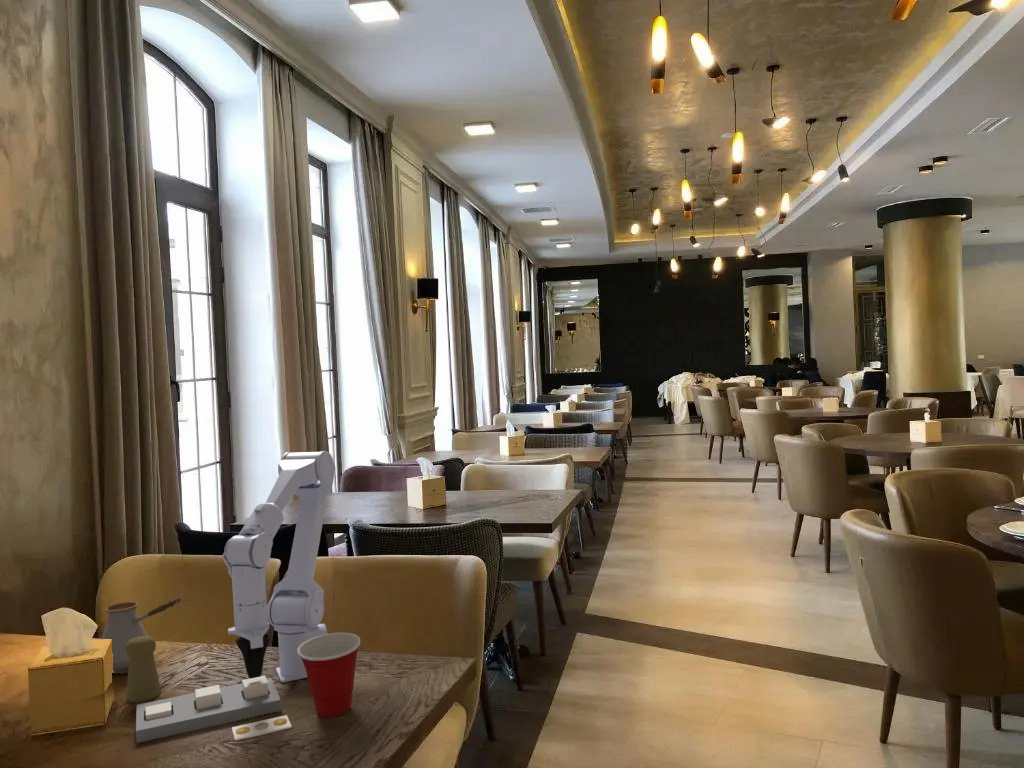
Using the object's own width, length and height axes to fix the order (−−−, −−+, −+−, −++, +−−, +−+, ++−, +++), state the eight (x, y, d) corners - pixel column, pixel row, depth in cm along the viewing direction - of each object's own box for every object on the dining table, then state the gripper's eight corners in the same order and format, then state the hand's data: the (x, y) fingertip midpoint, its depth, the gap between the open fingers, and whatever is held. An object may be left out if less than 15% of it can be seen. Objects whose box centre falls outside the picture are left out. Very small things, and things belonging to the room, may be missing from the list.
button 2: (265, 688, 146) (264, 675, 146) (268, 696, 142) (267, 682, 142) (243, 693, 144) (242, 680, 144) (245, 701, 140) (244, 687, 140)
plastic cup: (287, 721, 135) (283, 651, 135) (324, 695, 145) (320, 630, 145) (342, 728, 131) (338, 655, 131) (376, 701, 141) (372, 634, 141)
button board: (271, 687, 150) (271, 677, 150) (281, 711, 139) (280, 699, 139) (137, 716, 140) (136, 704, 140) (136, 743, 130) (135, 731, 129)
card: (287, 716, 137) (286, 713, 137) (291, 727, 132) (291, 724, 132) (231, 729, 133) (231, 726, 133) (234, 741, 128) (234, 737, 128)
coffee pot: (81, 675, 162) (76, 602, 162) (125, 655, 173) (120, 587, 173) (165, 683, 156) (160, 607, 155) (205, 662, 166) (201, 591, 166)
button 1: (171, 715, 139) (170, 701, 139) (172, 724, 135) (171, 710, 135) (146, 721, 137) (145, 706, 137) (146, 730, 134) (145, 715, 134)
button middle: (219, 698, 142) (218, 684, 142) (221, 706, 139) (220, 692, 139) (195, 703, 141) (194, 689, 141) (196, 711, 137) (196, 697, 137)
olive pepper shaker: (147, 702, 146) (143, 643, 146) (118, 701, 148) (115, 642, 147) (168, 689, 152) (164, 632, 152) (140, 688, 153) (136, 632, 153)
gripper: (223, 595, 148) (227, 668, 148) (230, 615, 135) (235, 695, 135) (262, 589, 151) (266, 660, 151) (273, 608, 138) (278, 686, 138)
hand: (254, 676), depth 143 cm, fingers closed
